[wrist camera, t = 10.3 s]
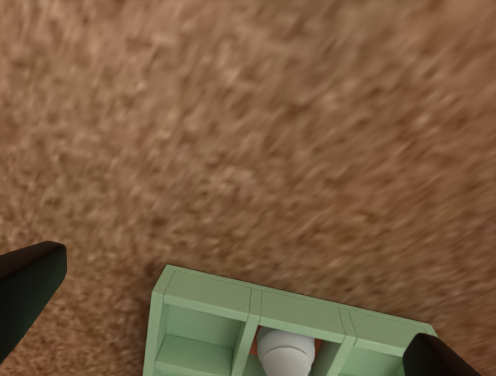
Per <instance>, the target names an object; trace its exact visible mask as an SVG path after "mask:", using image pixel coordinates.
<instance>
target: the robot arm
mask: <svg viewBox="0 0 496 376" xmlns="http://www.w3.org/2000/svg"><path fill="white" fill-rule="evenodd" d="M66 272H67V250H66V246H65V245H64V244H61V243H57V242H53V241H44V242H41V243H38V244H34V245H31V246H28V247H25V248H22V249H18V250H15V251H12V252H9V253H6V254H3V255H0V364H1V363H2V362H3V361H4V360H5V358H6V357H7V356H8V355H9V354H10V352H11V351H12V350H13V349H14V348H15V346H16V345H17V344H18V343H19V342H20V340H21V339H22V338H23V337H24V335H25V334H26V332H27V331H28V330H29V328H30V327H31V326H32V324H33V323H34V321H35V320H36V318H37V317H38V316H39V314H40V313H41V311H42V310H43V309H44V307H45V306H46V304H47V303H48V301H49V300H50V299H51V297H52V296H53V294H54V293H55V291H56V290H57V289H58V287H59V286H60V284H61V283H62V281H63V280H64V278H65V276H66ZM402 364H403V369H404V374H405V376H481V375H480V374H479V373H478V372H476V371H475V370H474V369H473V368H472V367H471V366H470V365H469V364H467V363H466V362H465V361H464V360H463V359H462V358H461V357H459V356H458V355H457V354H456V353H455V352H454V351H453V350H452V349H450V348H449V347H448V346H447V345H446V344H445V343H444V342H443V341H441V340H440V339H439V338H438V337H436V336H434V335H430V334H426V333H421V332H420V333H417V334H416V335H415V336H414V338H413V339H412V341H411V342H410V344H409V345H408V347H407V348H406V350H405V351H404V353H403V357H402Z"/></svg>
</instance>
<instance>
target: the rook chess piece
mask: <svg viewBox="0 0 496 376" xmlns="http://www.w3.org/2000/svg"><path fill="white" fill-rule="evenodd" d="M257 353H258V358H259V360H260V362H261V363H262V365H263V369H264V370H265V372H266V375H267V376H308V373H309V371H310V370H311V364H312V363H313V361H314V358H315V347H314V337H310V336H305V335H301V334H296V333H292V332H288V331H283V330H279V329H274V328H270V327H266V326H263V327H261V328H260V330H259V332H258V334H257Z"/></svg>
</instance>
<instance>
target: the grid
mask: <svg viewBox="0 0 496 376" xmlns="http://www.w3.org/2000/svg"><path fill="white" fill-rule="evenodd" d="M263 326H266V327H270V328H274V329H279V330H283V331H288V332H292V333H296V334H301V335H305V336H310V337H314V347H315V358H314V361H313V363H312V364H311V370H310V371H309V373H308V376H405V374H404V369H403V364H402V357H403V353H404V351H405V350H406V348H407V347H408V345H409V344H410V342H411V341H412V339H413V338H414V336H415V335H416V334H417V333H420V332H421V333H426V334H430V335H434V336H436V337H438V336H437V334H436V333H435V331H434V330H433V328H432V326H431V325H430V324H428V323H423V322H419V321H414V320H410V319H406V318H401V317H397V316H392V315H388V314H384V313H379V312H375V311H370V310H366V309H362V308H357V307H353V306H349V305H344V304H340V303H335V302H331V301H327V300H322V299H318V298H313V297H309V296H305V295H300V294H296V293H291V292H287V291H283V290H278V289H274V288H270V287H265V286H261V285H256V284H252V283H248V282H243V281H239V280H234V279H230V278H226V277H221V276H217V275H213V274H208V273H204V272H199V271H195V270H191V269H186V268H182V267H177V266H173V265H169V264H167V265H166V267H165V269H164V270H163V272H162V274H161V276H160V278H159V280H158V281H157V283H156V285H155V287H154V289H153V291H152V295H151V304H150V313H149V322H148V331H147V340H146V349H145V358H144V367H143V376H267V375H266V372H265V370H264V369H263V365H262V363H261V362H260V360H259V358H258V353H257V334H258V332H259V330H260V328H261V327H263ZM438 338H439V337H438Z"/></svg>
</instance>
